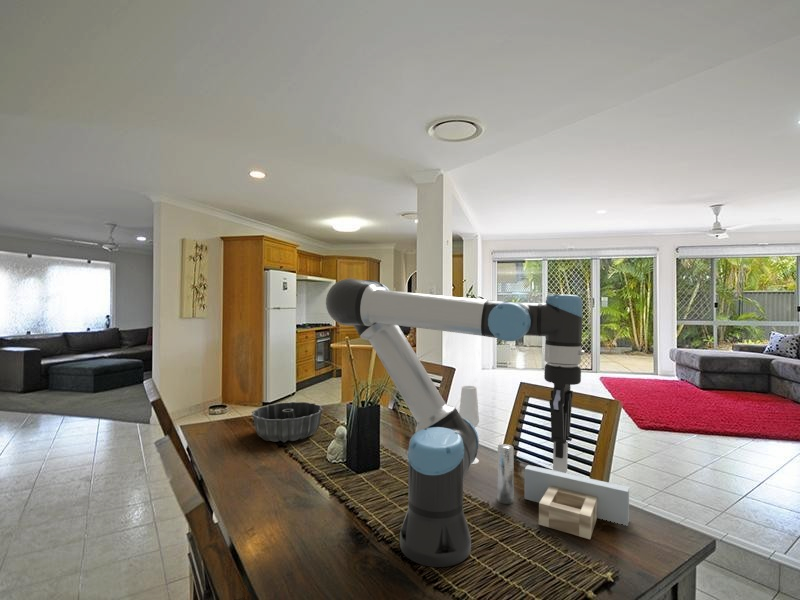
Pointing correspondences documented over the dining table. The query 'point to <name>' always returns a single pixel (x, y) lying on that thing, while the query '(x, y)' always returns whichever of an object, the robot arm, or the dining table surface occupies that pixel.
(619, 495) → the wall
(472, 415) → the champagne flute
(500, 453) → the metal peg
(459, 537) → the robot arm
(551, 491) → the square wooden frame
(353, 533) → the dining table surface
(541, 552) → the dining table surface
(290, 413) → the bundt pan
